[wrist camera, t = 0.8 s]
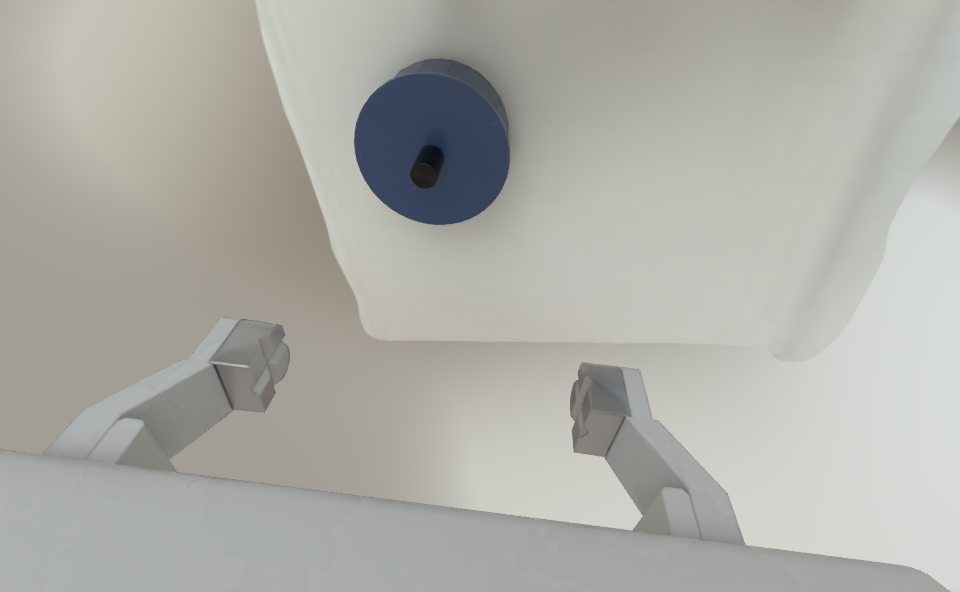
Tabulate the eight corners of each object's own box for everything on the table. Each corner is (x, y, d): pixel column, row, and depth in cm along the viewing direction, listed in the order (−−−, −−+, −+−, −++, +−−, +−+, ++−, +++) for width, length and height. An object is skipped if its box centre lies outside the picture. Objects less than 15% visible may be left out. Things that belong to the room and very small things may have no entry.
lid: (381, 37, 37) (363, 52, 33) (538, 115, 40) (538, 137, 36) (343, 184, 46) (325, 209, 42) (473, 239, 49) (468, 267, 45)
